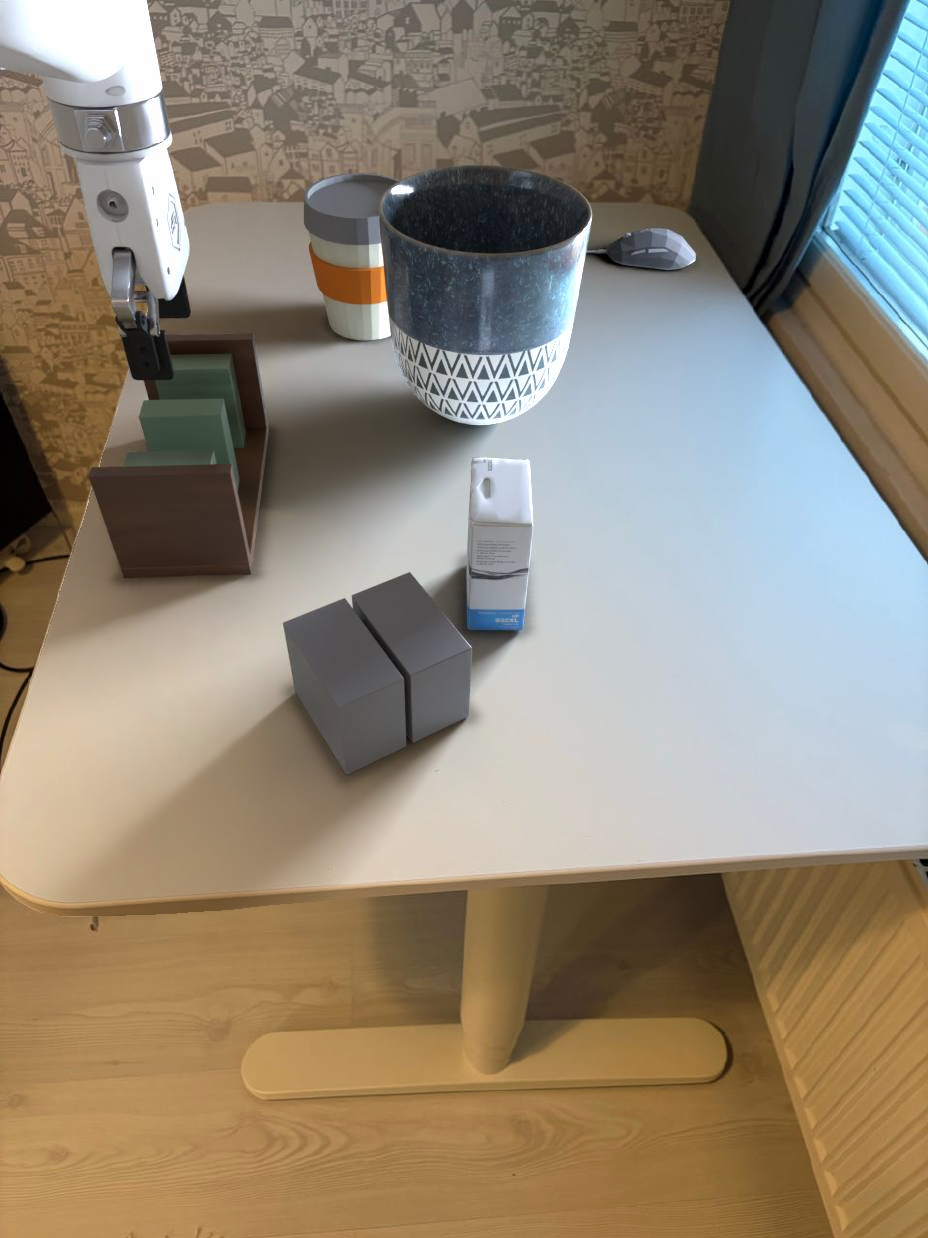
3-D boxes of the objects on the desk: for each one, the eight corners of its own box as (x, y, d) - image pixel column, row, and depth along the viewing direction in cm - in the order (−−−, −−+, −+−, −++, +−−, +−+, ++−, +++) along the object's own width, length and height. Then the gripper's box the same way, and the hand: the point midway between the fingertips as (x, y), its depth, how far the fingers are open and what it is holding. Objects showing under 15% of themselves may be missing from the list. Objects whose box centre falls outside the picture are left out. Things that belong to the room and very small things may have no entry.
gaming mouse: (585, 242, 126) (589, 213, 123) (693, 252, 125) (699, 223, 122) (583, 263, 122) (586, 233, 119) (694, 273, 121) (701, 244, 118)
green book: (237, 496, 85) (220, 415, 79) (161, 498, 85) (138, 416, 78) (239, 478, 87) (224, 398, 81) (165, 480, 87) (143, 399, 80)
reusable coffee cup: (333, 357, 105) (322, 226, 94) (300, 306, 112) (286, 181, 101) (434, 336, 108) (434, 208, 97) (395, 288, 116) (391, 165, 105)
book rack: (251, 574, 80) (230, 472, 72) (123, 578, 79) (87, 476, 71) (269, 431, 95) (253, 332, 86) (161, 433, 94) (135, 334, 86)
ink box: (524, 632, 76) (535, 525, 68) (465, 631, 76) (469, 524, 68) (520, 562, 82) (531, 456, 73) (466, 560, 82) (470, 454, 73)
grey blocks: (346, 775, 66) (338, 708, 60) (294, 691, 71) (282, 622, 65) (469, 716, 70) (472, 647, 64) (411, 641, 75) (409, 571, 69)
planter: (602, 429, 96) (635, 227, 81) (440, 482, 89) (441, 273, 74) (507, 343, 108) (520, 151, 92) (357, 384, 101) (343, 185, 85)
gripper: (146, 167, 57) (196, 404, 69) (185, 81, 69) (221, 296, 81) (22, 167, 56) (95, 405, 69) (83, 80, 68) (135, 296, 81)
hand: (163, 346), depth 75 cm, fingers open, 9 cm apart
